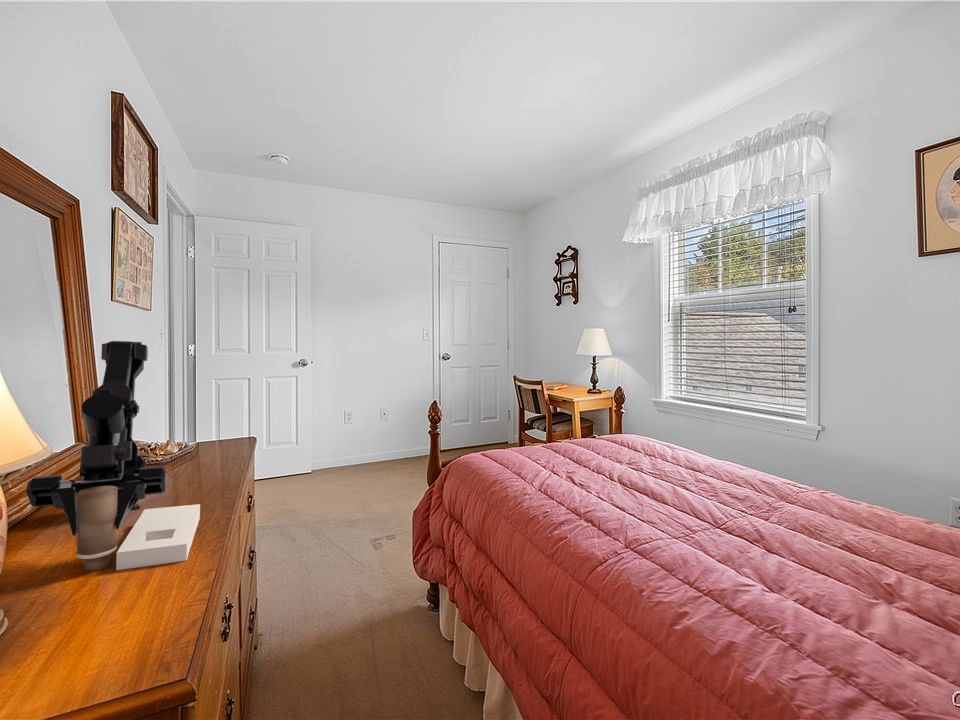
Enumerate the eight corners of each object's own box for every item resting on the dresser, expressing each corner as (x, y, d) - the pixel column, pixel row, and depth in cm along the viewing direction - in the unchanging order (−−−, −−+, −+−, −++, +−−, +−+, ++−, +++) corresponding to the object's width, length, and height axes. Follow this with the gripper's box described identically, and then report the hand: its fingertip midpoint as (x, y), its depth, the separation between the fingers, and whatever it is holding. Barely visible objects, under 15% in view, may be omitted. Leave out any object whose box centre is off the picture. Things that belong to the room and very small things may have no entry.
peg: (72, 566, 79) (74, 490, 79) (111, 556, 83) (113, 483, 83) (80, 577, 76) (81, 497, 75) (120, 566, 80) (122, 490, 79)
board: (144, 523, 98) (144, 509, 98) (199, 517, 103) (200, 504, 102) (116, 570, 78) (116, 552, 78) (186, 560, 83) (186, 543, 83)
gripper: (29, 429, 77) (8, 517, 68) (166, 422, 87) (163, 499, 78) (41, 465, 84) (23, 550, 75) (166, 455, 94) (163, 529, 85)
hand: (96, 530), depth 78 cm, fingers open, 5 cm apart
